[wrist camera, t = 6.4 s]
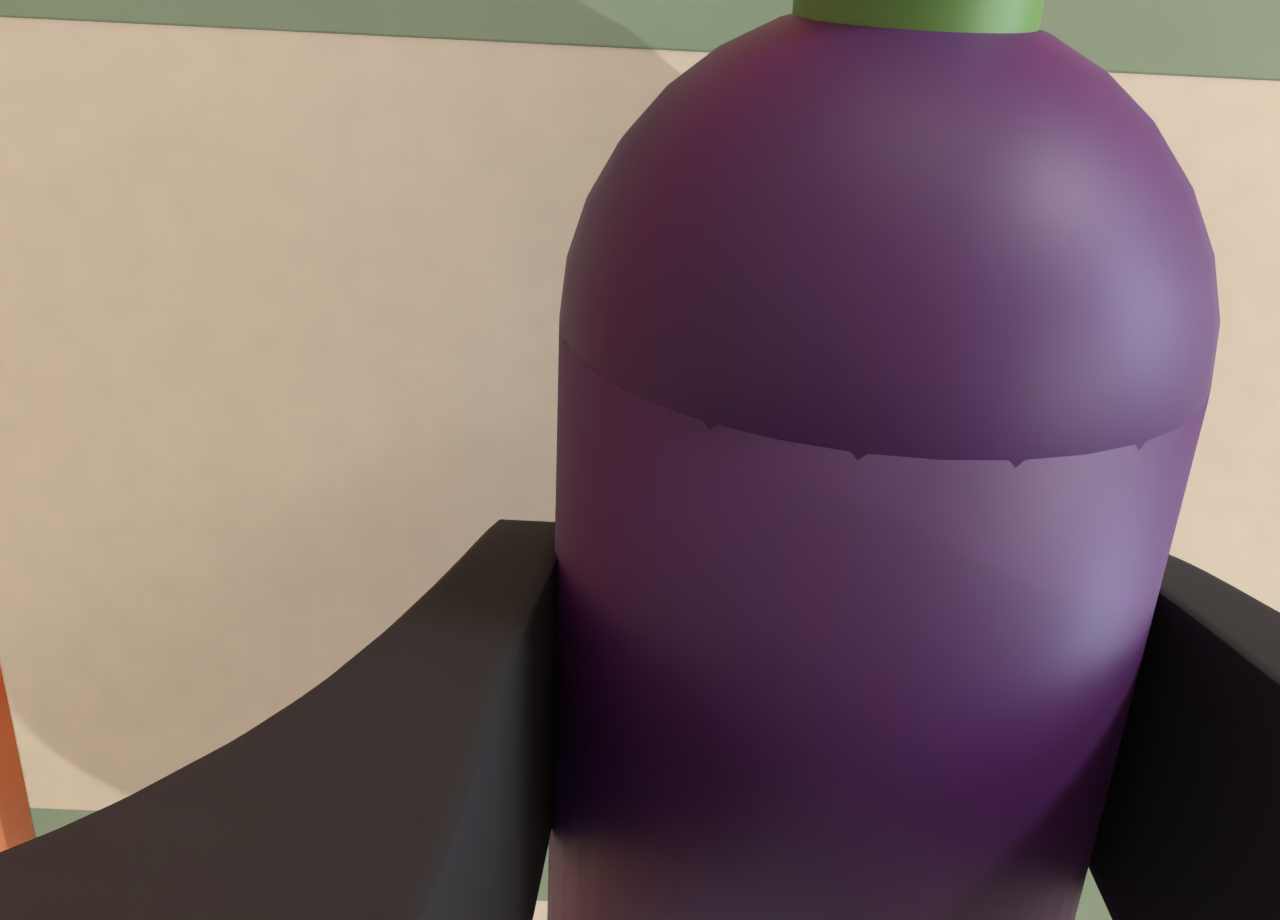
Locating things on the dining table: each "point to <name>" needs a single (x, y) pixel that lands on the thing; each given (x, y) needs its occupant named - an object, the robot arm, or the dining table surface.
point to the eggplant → (866, 471)
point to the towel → (402, 325)
